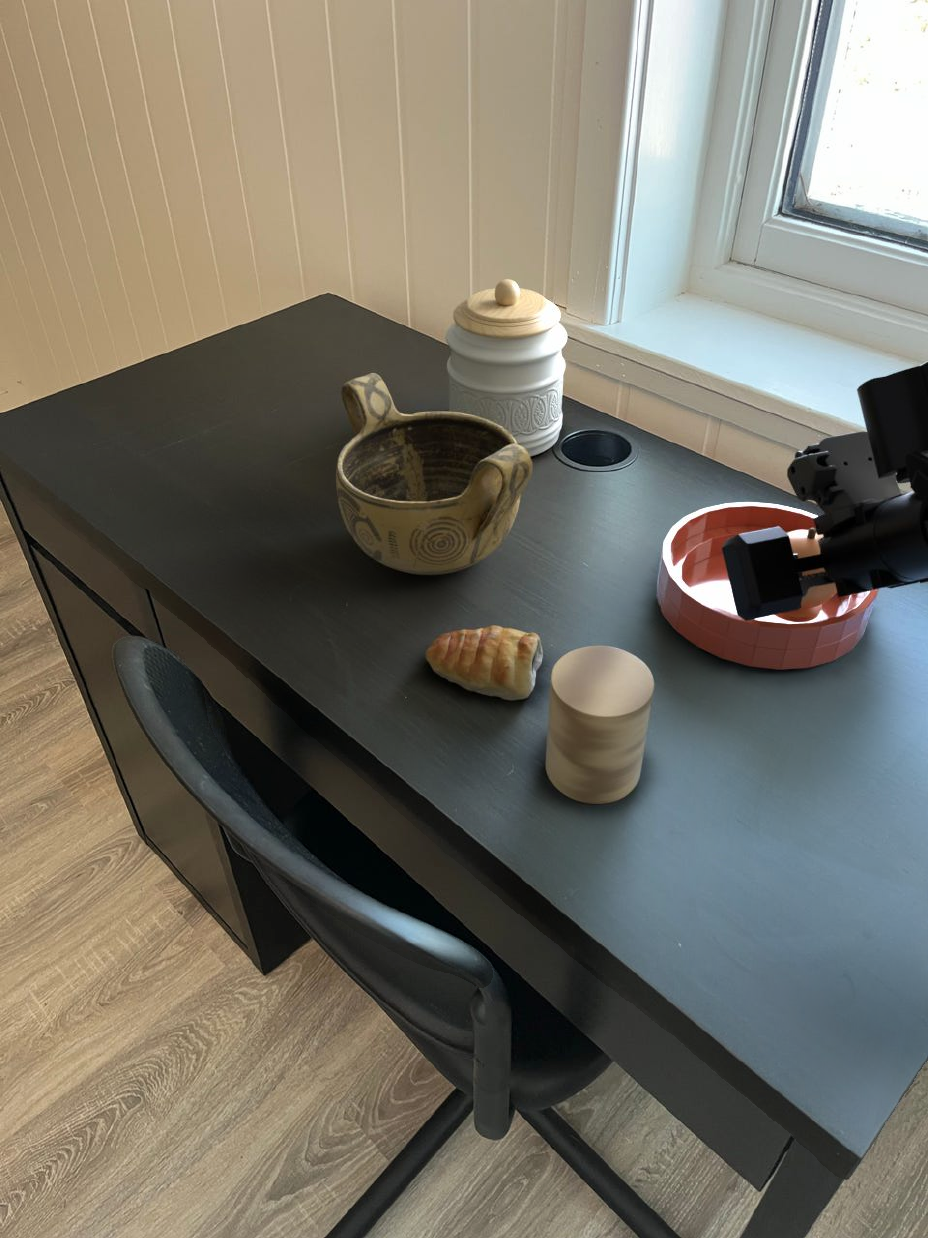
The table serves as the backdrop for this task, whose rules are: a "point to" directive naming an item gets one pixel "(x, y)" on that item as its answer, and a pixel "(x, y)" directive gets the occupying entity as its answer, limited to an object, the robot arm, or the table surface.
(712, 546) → the bowl
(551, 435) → the jar
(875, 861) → the table surface
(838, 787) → the table surface
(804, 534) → the peach
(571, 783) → the wooden cylinder
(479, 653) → the pastry
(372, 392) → the ceramic bowl
